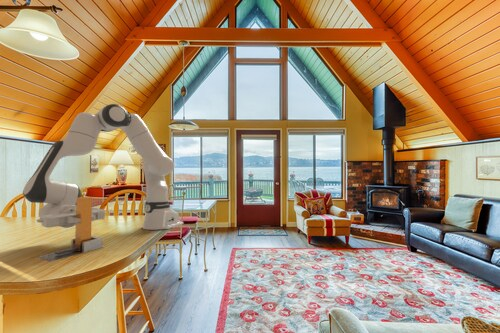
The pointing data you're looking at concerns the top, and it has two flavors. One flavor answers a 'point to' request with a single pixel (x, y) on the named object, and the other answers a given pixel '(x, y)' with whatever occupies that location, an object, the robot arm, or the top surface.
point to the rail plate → (55, 257)
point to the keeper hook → (90, 244)
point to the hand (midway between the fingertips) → (86, 219)
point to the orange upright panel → (81, 224)
